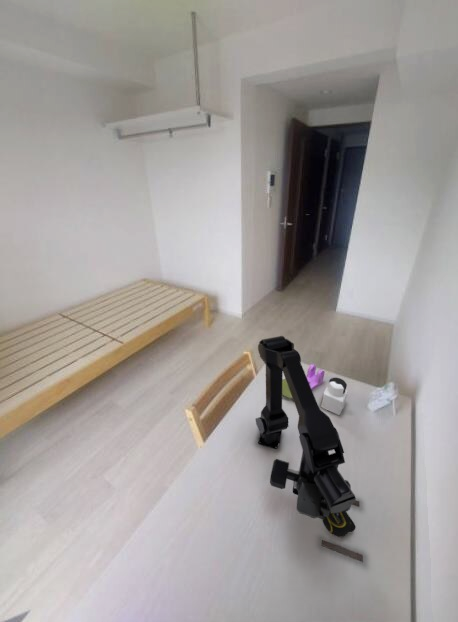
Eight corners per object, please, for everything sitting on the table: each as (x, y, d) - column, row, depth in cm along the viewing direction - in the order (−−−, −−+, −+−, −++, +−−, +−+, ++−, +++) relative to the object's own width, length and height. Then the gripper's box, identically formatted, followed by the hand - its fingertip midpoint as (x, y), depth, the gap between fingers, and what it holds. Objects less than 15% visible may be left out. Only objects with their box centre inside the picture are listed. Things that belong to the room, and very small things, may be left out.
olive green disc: (310, 389, 110) (311, 386, 110) (297, 406, 103) (297, 402, 102) (286, 377, 117) (287, 374, 116) (272, 392, 110) (272, 388, 109)
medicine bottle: (326, 395, 108) (331, 372, 102) (344, 403, 104) (351, 380, 98) (320, 407, 103) (325, 383, 97) (339, 416, 99) (345, 391, 93)
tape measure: (355, 533, 67) (358, 525, 66) (331, 543, 66) (334, 536, 64) (337, 504, 73) (340, 497, 71) (315, 513, 71) (317, 505, 70)
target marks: (321, 545, 65) (321, 545, 65) (323, 490, 76) (323, 489, 76) (362, 561, 63) (363, 561, 62) (358, 502, 74) (359, 501, 73)
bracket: (311, 375, 119) (313, 362, 115) (322, 382, 115) (325, 369, 111) (292, 388, 111) (294, 375, 108) (303, 396, 108) (305, 383, 104)
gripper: (266, 485, 59) (263, 521, 67) (358, 517, 54) (344, 552, 61) (276, 442, 68) (272, 478, 76) (355, 465, 63) (343, 501, 70)
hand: (305, 501), depth 70 cm, fingers closed
